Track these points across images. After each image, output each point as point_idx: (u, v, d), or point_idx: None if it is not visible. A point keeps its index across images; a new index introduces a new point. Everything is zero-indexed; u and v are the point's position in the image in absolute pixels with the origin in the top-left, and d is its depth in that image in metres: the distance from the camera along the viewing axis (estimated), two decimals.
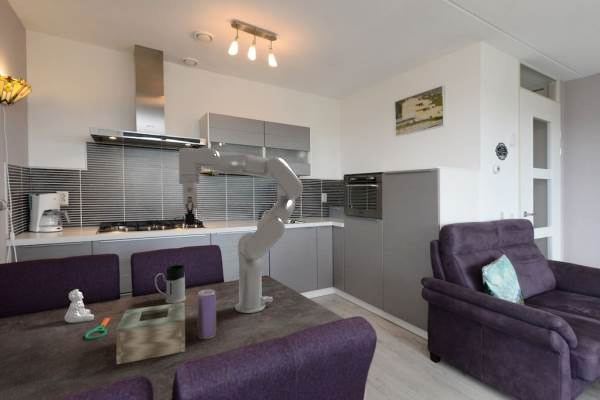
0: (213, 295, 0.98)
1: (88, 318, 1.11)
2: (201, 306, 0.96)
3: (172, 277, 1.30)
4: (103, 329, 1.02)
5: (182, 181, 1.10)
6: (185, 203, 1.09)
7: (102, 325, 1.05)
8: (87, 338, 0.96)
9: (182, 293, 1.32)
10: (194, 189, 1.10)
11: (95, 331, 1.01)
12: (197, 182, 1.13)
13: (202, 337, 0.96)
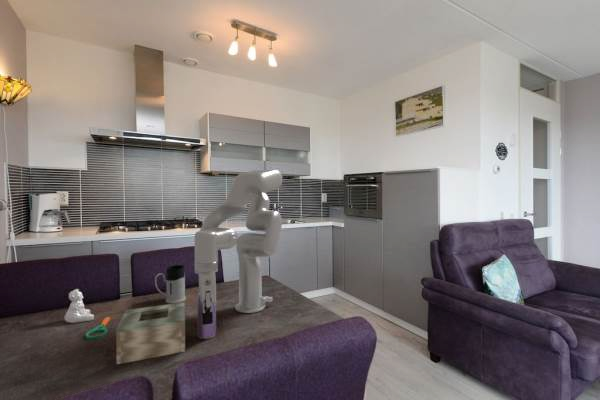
0: None
1: (88, 318, 1.11)
2: (201, 306, 0.96)
3: (172, 277, 1.30)
4: (103, 328, 1.03)
5: (199, 271, 0.95)
6: (202, 298, 0.93)
7: (102, 324, 1.05)
8: (88, 337, 0.97)
9: (182, 293, 1.32)
10: (213, 281, 0.95)
11: (95, 330, 1.02)
12: (216, 270, 0.97)
13: (202, 337, 0.96)
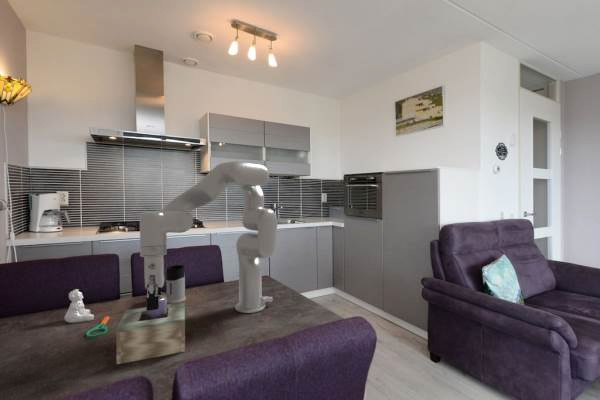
0: (163, 302, 0.92)
1: (88, 318, 1.11)
2: (149, 313, 0.90)
3: (172, 277, 1.30)
4: (104, 327, 1.04)
5: (143, 254, 0.89)
6: (146, 283, 0.87)
7: (102, 323, 1.06)
8: (88, 336, 0.98)
9: (182, 293, 1.32)
10: (158, 264, 0.88)
11: (96, 329, 1.03)
12: (163, 254, 0.91)
13: None
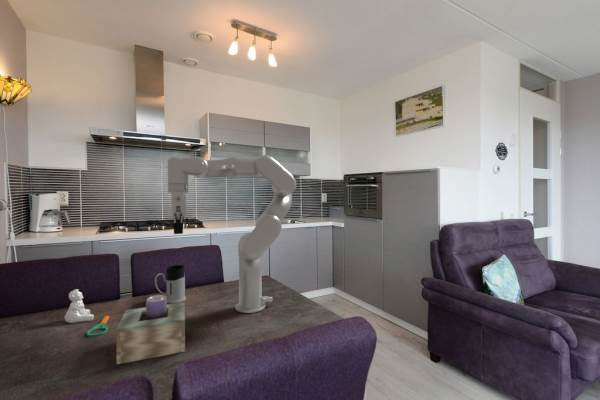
0: (162, 302, 0.92)
1: (88, 318, 1.11)
2: (149, 313, 0.90)
3: (172, 277, 1.30)
4: (104, 326, 1.04)
5: (170, 190, 1.11)
6: (173, 212, 1.09)
7: (103, 323, 1.07)
8: (89, 335, 0.98)
9: (182, 293, 1.32)
10: (183, 198, 1.11)
11: (96, 328, 1.03)
12: (186, 191, 1.13)
13: None
